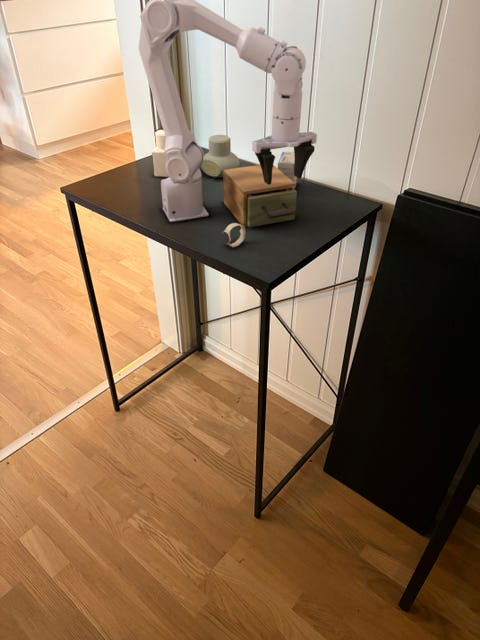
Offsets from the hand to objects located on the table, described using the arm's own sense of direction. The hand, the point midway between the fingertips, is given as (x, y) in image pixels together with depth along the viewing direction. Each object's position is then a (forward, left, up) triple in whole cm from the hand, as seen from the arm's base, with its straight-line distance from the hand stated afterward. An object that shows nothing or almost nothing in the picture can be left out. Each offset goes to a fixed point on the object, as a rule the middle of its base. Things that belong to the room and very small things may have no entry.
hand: (282, 179), depth 109 cm
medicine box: (+9, +17, -10) cm, 22 cm away
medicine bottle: (-17, +39, -10) cm, 43 cm away
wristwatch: (-14, -6, -10) cm, 18 cm away
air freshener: (-4, +33, -10) cm, 34 cm away
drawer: (-3, +2, -9) cm, 10 cm away
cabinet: (-3, +8, -10) cm, 13 cm away
